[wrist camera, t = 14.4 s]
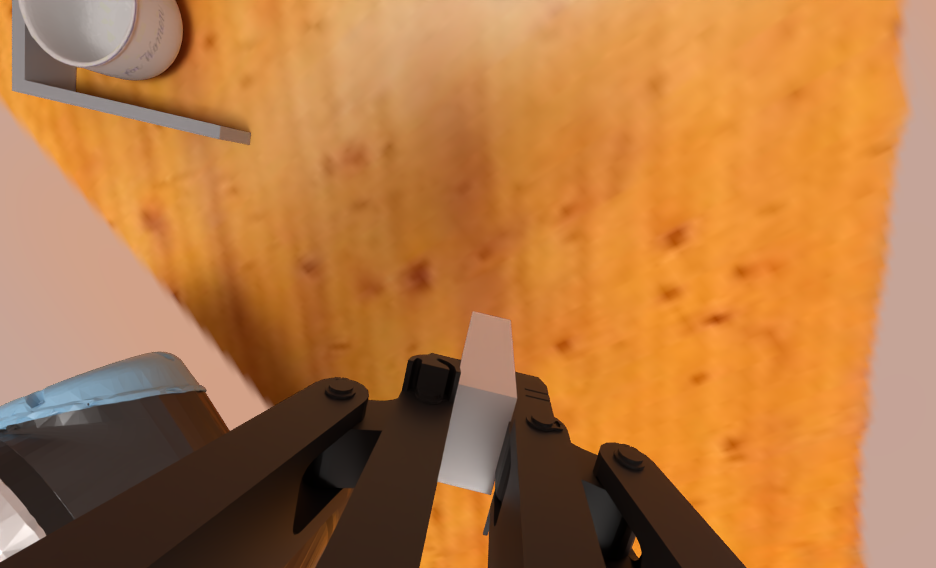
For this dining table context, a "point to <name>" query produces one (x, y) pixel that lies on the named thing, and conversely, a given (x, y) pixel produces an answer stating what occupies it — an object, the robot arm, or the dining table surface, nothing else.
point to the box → (58, 83)
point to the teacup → (108, 34)
